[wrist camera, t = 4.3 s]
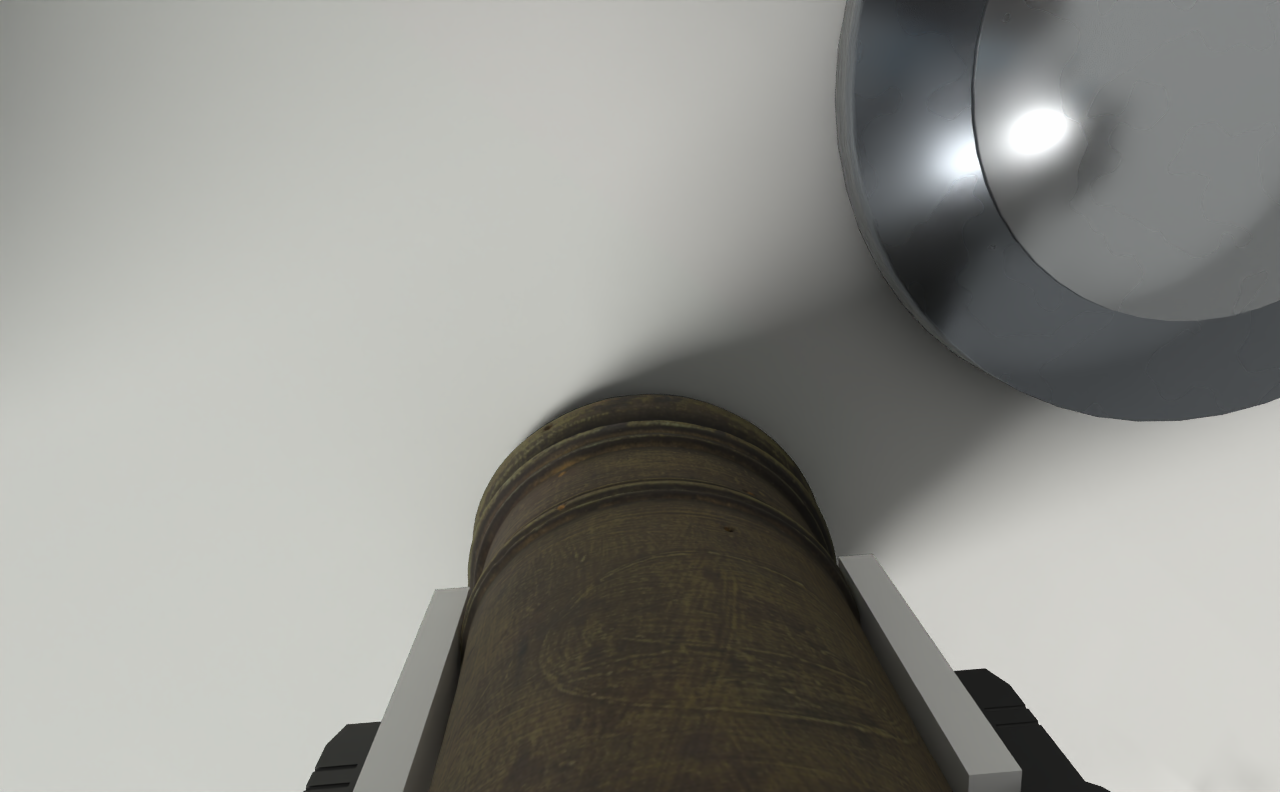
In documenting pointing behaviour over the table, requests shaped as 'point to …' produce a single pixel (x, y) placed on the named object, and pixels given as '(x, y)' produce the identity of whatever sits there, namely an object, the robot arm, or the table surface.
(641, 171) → the table surface
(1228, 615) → the table surface
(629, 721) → the container
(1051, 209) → the dark gray plate
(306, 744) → the table surface
